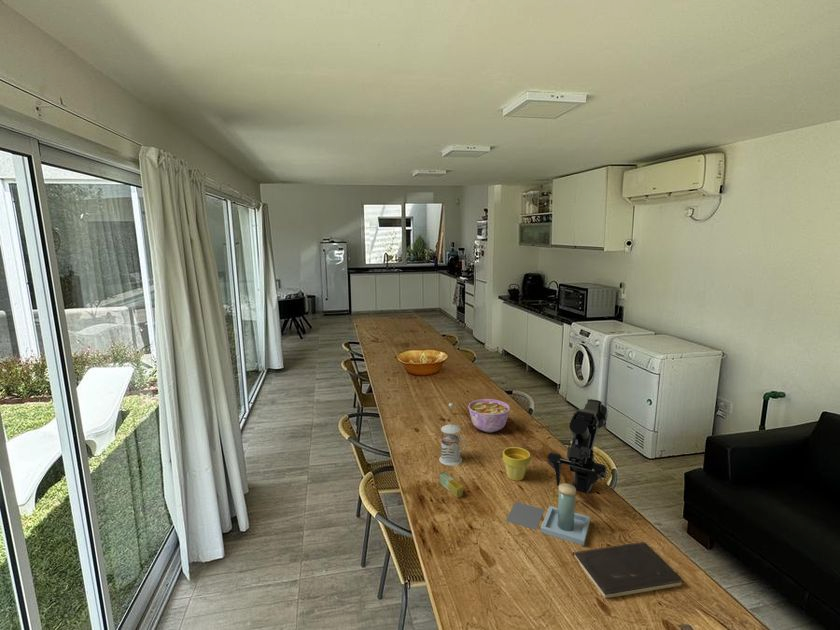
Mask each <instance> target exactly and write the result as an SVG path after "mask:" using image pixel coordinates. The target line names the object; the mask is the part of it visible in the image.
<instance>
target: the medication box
mask: <svg viewBox="0 0 840 630" xmlns="http://www.w3.org/2000/svg"><path fill="white" fill-rule="evenodd" d="M439 483H440V485H442V486H443V487H445V489H447V490H448V491H449V492H450V493H451V494H452V495H454V496H455V497H456V498H462V497H464V486H462V485H461V484H460V482H458V481H457V480H455V479H454V478H453V477H452V476H450V475H449V474H448V473H447V472H445V471H443V472H441V473H439Z"/></svg>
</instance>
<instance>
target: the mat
mask: <svg viewBox="0 0 840 630" xmlns="http://www.w3.org/2000/svg"><path fill="white" fill-rule="evenodd" d="M544 511H545V509H544V508H540V507H536V506H532V505H531V504H527V503H523V502H519V501H515V503H514V505H513V506H512V507H511V510H510V512H509V513H508V515H507V517H506V519H505V521H506V522H509V523H511V524H514V525H518V526H522V527H525V528H528V529H531V530H533V531H534V530H535V531H537V529H538V528H539V527H538V526H539V524H540V522H541V519H542V516H543V514H544Z"/></svg>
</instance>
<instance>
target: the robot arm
mask: <svg viewBox="0 0 840 630" xmlns="http://www.w3.org/2000/svg"><path fill="white" fill-rule="evenodd" d="M586 402H587V403H585V405H584V407H583V408H582V409H581V408H580V409H577V410H576V412H574V414H573V415H572V417H571V420H570V422H569V429H570V433H571V436H572V441H571V444H570V446H568V447H567V454H566V457H567V458H563V457H562V455H561V454H560V453H556V452H551V451H550V452H549V453H548V454H547V458H546V459H547V461H548V464H549V465H551V466H552V468H554V472H555V480H556V487H559V485H560V484H561V483H560V482H561V475H562V467H561V466H562V465H564V466H569V472H573V473H574V477H573V478H574V479H573V482H572V484H571V485H573V486H574V487H575V488H576V491H580V492H584V493H585V495H588V494H590V493H591V490H592V487H593V485H594V484H595V483H596V482H597V481H598V480H602V478H603V479H606V478H607V473H608V472H607V467H606V465H605V464H602V463H598V462H596V461H595V453H594V447H595V443H596V439H597V434H598V430H599V429H600V428H602V427H604V425H605V422H607V420H608V408H607V407H606V406H605V405H604V404H603V402H602V401H601V400H600V399H592V398H590V399H587V401H586Z"/></svg>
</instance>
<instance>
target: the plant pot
mask: <svg viewBox="0 0 840 630" xmlns="http://www.w3.org/2000/svg"><path fill="white" fill-rule="evenodd" d="M502 461H503V463H504V466H505V472H506V477H507V478H508V479H510V480H512V481H515V482H516V481H518V482H519V481H522V480H524V479H525V476H526V471H527V468H528V466H529V464H530V462H531V453H530V452H529V451H528V450H527V449H525V448H523V447H517V446H511V447H506V448H505V449H503V451H502Z"/></svg>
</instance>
